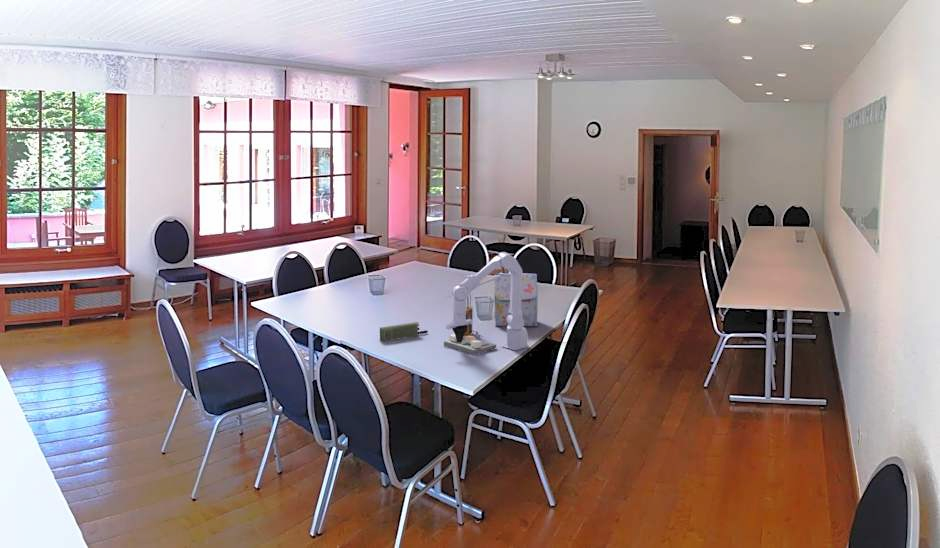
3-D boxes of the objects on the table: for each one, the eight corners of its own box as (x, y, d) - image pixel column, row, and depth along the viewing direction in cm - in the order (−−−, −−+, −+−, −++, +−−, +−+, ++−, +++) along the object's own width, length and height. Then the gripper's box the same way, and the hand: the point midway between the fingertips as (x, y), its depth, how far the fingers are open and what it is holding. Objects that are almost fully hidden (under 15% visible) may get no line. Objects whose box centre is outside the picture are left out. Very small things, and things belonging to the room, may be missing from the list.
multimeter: (480, 340, 358) (481, 299, 354) (460, 338, 360) (460, 297, 357) (488, 332, 372) (489, 292, 368) (469, 330, 374) (469, 291, 370)
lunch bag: (493, 328, 379) (493, 276, 374) (493, 319, 396) (494, 270, 391) (537, 329, 379) (539, 277, 374) (536, 320, 395) (537, 270, 390)
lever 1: (454, 339, 351) (454, 334, 350) (459, 340, 348) (459, 335, 348) (449, 340, 349) (449, 335, 348) (454, 342, 346) (454, 336, 346)
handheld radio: (379, 340, 357) (425, 333, 370) (382, 342, 354) (428, 335, 367) (379, 326, 355) (425, 320, 368) (382, 328, 353) (429, 321, 366)
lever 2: (475, 345, 341) (475, 340, 340) (481, 347, 338) (481, 341, 338) (470, 346, 339) (470, 341, 338) (476, 348, 336) (476, 343, 336)
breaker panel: (465, 340, 358) (465, 335, 357) (496, 348, 344) (496, 344, 343) (443, 345, 348) (443, 341, 348) (474, 355, 334) (474, 350, 334)
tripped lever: (469, 341, 348) (469, 335, 347) (474, 342, 345) (475, 336, 345) (464, 342, 346) (464, 336, 345) (470, 343, 343) (470, 337, 343)
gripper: (465, 308, 346) (464, 337, 348) (441, 313, 336) (441, 343, 338) (476, 311, 341) (475, 340, 343) (452, 316, 331) (452, 346, 334)
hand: (459, 341), depth 341 cm, fingers closed
